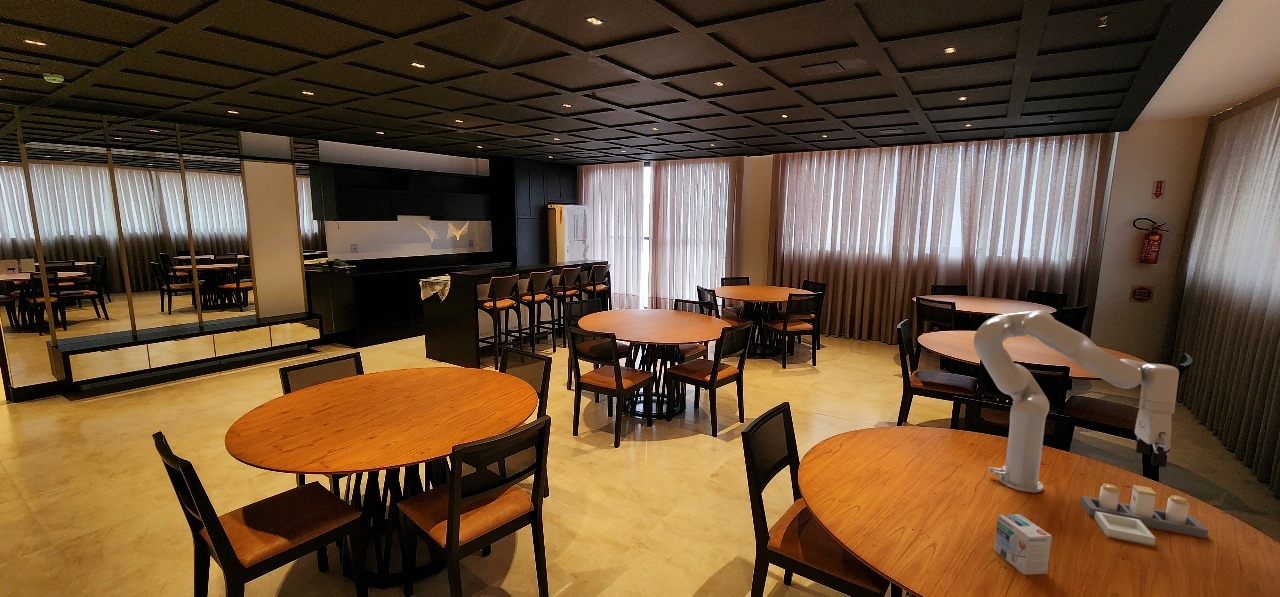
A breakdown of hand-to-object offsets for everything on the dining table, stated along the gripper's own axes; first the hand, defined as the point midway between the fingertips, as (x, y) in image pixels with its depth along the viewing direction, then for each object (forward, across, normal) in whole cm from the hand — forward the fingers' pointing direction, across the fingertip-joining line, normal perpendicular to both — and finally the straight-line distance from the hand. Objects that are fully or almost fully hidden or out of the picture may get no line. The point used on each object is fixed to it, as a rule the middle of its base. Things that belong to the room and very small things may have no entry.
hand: (1150, 459), depth 158 cm
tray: (+19, +12, -9) cm, 24 cm away
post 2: (+20, +1, +7) cm, 21 cm away
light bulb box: (+19, +41, -40) cm, 61 cm away
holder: (+19, +1, -1) cm, 19 cm away
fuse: (+19, +1, -1) cm, 19 cm away
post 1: (+19, 0, -9) cm, 21 cm away
